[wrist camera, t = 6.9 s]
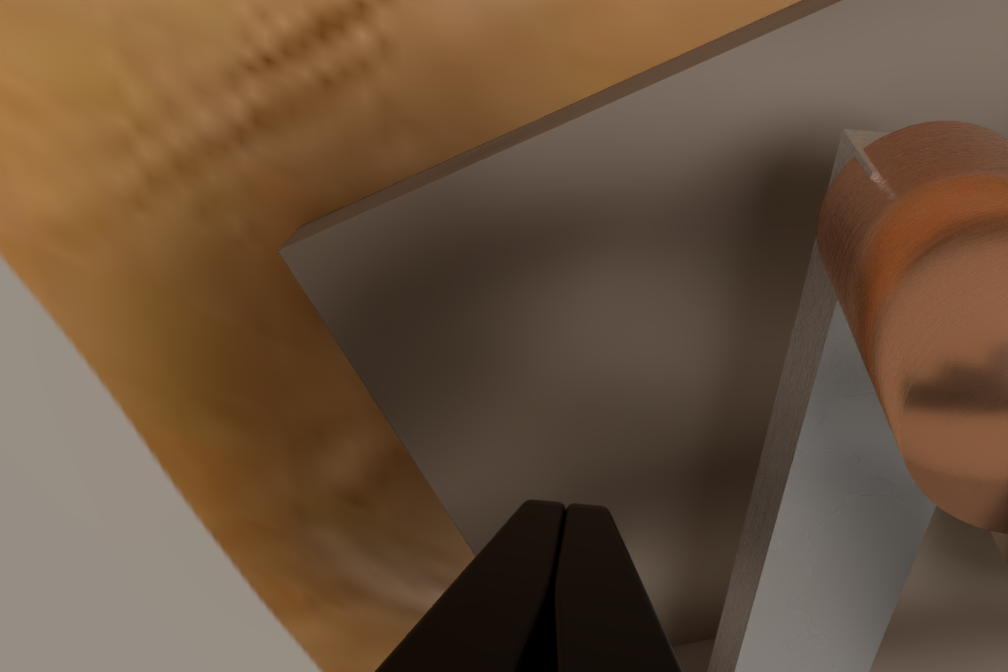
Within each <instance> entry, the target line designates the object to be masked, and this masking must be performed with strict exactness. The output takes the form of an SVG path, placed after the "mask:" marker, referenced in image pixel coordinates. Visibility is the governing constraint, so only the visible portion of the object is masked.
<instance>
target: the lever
mask: <svg viewBox="0 0 1008 672" xmlns="http://www.w3.org/2000/svg"><path fill="white" fill-rule="evenodd" d="M936 505H937V506H938V507H940V508H941V509H942V510H944V511H945V512H947V513H948V514H950V515H952V516H954V517H956V518H957V519H959V520H961V521H964V522H966V523H969V524H971V525H973V526H976V527H979V528H983V529H986V530H990V531H993V532H998V533H1004V534H1008V139H1006V138H1005V137H1003V136H1002V135H1000V134H998V133H997V132H995V131H992V130H990V129H988V128H986V127H983V126H980V125H976V124H972V123H968V122H961V121H932V122H924V123H919V124H915V125H910V126H907V127H904V128H901V129H899V130H896V131H893V132H879V131H866V130H853V129H843V130H842V134H841V138H840V142H839V146H838V150H837V154H836V158H835V162H834V166H833V170H832V174H831V178H830V182H829V186H828V190H827V192H826V194H825V196H824V198H823V200H822V204H821V207H820V210H819V214H818V219H817V230H816V238H815V242H814V246H813V250H812V254H811V258H810V262H809V266H808V270H807V274H806V278H805V282H804V286H803V290H802V294H801V298H800V302H799V306H798V310H797V314H796V318H795V322H794V327H793V331H792V335H791V339H790V343H789V347H788V351H787V355H786V359H785V363H784V367H783V371H782V375H781V379H780V383H779V387H778V391H777V395H776V399H775V403H774V407H773V411H772V415H771V419H770V423H769V427H768V431H767V435H766V439H765V443H764V447H763V451H762V455H761V459H760V463H759V467H758V471H757V475H756V479H755V483H754V487H753V491H752V495H751V499H750V503H749V507H748V511H747V515H746V519H745V523H744V527H743V531H742V535H741V539H740V543H739V547H738V551H737V555H736V559H735V563H734V567H733V571H732V575H731V579H730V583H729V587H728V591H727V595H726V599H725V603H724V607H723V611H722V615H721V619H720V623H719V627H718V631H717V635H716V639H715V643H714V647H713V651H712V655H711V659H710V663H709V667H708V671H707V672H869V671H870V668H871V666H872V664H873V661H874V659H875V656H876V654H877V651H878V649H879V646H880V644H881V641H882V639H883V636H884V634H885V631H886V629H887V626H888V624H889V621H890V619H891V616H892V614H893V612H894V609H895V607H896V604H897V602H898V599H899V597H900V594H901V592H902V589H903V587H904V584H905V582H906V579H907V577H908V574H909V572H910V569H911V567H912V565H913V562H914V560H915V557H916V555H917V552H918V550H919V547H920V545H921V542H922V540H923V537H924V535H925V532H926V530H927V527H928V525H929V522H930V520H931V517H932V515H933V513H934V510H935V508H936Z"/></svg>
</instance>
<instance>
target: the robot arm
mask: <svg viewBox="0 0 1008 672" xmlns="http://www.w3.org/2000/svg"><path fill="white" fill-rule="evenodd" d="M375 672H683V670H682V668H681V666H680V664H679V662H678V659H677V657H676V655H675V653H674V651H673V649H672V646H671V644H670V642H669V640H668V638H667V635H666V633H665V631H664V629H663V627H662V624H661V622H660V620H659V618H658V616H657V613H656V611H655V609H654V607H653V605H652V602H651V600H650V598H649V596H648V594H647V592H646V589H645V587H644V585H643V583H642V581H641V578H640V576H639V574H638V572H637V570H636V567H635V565H634V563H633V561H632V559H631V556H630V554H629V552H628V550H627V548H626V546H625V543H624V541H623V539H622V537H621V535H620V532H619V530H618V528H617V526H616V524H615V521H614V519H613V517H612V515H611V513H610V511H609V510H608V508H606V507H605V506H602V505H591V504H580V503H572V504H570V505H569V506H568V507H567V509H566V507H565V505H564V504H563V503H562V502H558V501H547V500H536V499H529V500H527V501H525V502H524V503H523V504H522V505H521V506H520V507H519V508H518V509H517V510H516V512H515V513H514V514H513V515H512V516H511V517H510V518H509V520H508V521H507V522H506V523H505V524H504V525H503V526H502V528H501V529H500V530H499V531H498V532H497V533H496V534H495V535H494V537H493V538H492V539H491V540H490V541H489V542H488V543H487V545H486V546H485V547H484V548H483V549H482V550H481V551H480V553H479V554H478V555H477V556H476V557H475V558H474V559H473V560H472V562H471V563H470V564H469V565H468V566H467V567H466V568H465V570H464V571H463V572H462V573H461V574H460V575H459V576H458V578H457V579H456V580H455V581H454V582H453V583H452V584H451V585H450V587H449V588H448V589H447V590H446V591H445V592H444V593H443V595H442V596H441V597H440V598H439V599H438V600H437V601H436V603H435V604H434V605H433V606H432V607H431V608H430V609H429V610H428V612H427V613H426V614H425V615H424V616H423V617H422V618H421V620H420V621H419V622H418V623H417V624H416V625H415V626H414V628H413V629H412V630H411V631H410V632H409V633H408V634H407V635H406V637H405V638H404V639H403V640H402V641H401V642H400V643H399V645H398V646H397V647H396V648H395V649H394V650H393V651H392V653H391V654H390V655H389V656H388V657H387V658H386V659H385V660H384V662H383V663H382V664H381V665H380V666H379V667H378V668H377V670H376V671H375Z"/></svg>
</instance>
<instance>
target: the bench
mask: <svg viewBox="0 0 1008 672" xmlns="http://www.w3.org/2000/svg"><path fill="white" fill-rule="evenodd" d="M932 121H961V122H968V123H972V124H976V125H980V126H983V127H986V128H988V129H990V130H992V131H995V132H997V133H998V134H1000V135H1002V136H1003V137H1005V138H1006V139H1008V0H802V1H800V2H798V3H796V4H793V5H791V6H789V7H787V8H785V9H782V10H780V11H778V12H776V13H773V14H771V15H769V16H767V17H765V18H762V19H760V20H758V21H756V22H754V23H751V24H749V25H747V26H745V27H742V28H740V29H738V30H736V31H734V32H731V33H729V34H727V35H725V36H722V37H720V38H718V39H716V40H714V41H711V42H709V43H707V44H705V45H702V46H700V47H698V48H696V49H694V50H691V51H689V52H687V53H685V54H683V55H680V56H678V57H676V58H674V59H671V60H669V61H667V62H665V63H663V64H660V65H658V66H656V67H654V68H651V69H649V70H647V71H645V72H643V73H640V74H638V75H636V76H634V77H631V78H629V79H627V80H625V81H623V82H620V83H618V84H616V85H614V86H611V87H609V88H607V89H605V90H603V91H600V92H598V93H596V94H594V95H592V96H589V97H587V98H585V99H583V100H580V101H578V102H576V103H574V104H572V105H569V106H567V107H565V108H563V109H560V110H558V111H556V112H554V113H552V114H549V115H547V116H545V117H543V118H540V119H538V120H536V121H534V122H532V123H529V124H527V125H525V126H523V127H520V128H518V129H516V130H514V131H512V132H509V133H507V134H505V135H503V136H501V137H498V138H496V139H494V140H492V141H489V142H487V143H485V144H483V145H481V146H478V147H476V148H474V149H472V150H469V151H467V152H465V153H463V154H461V155H458V156H456V157H454V158H452V159H449V160H447V161H445V162H443V163H441V164H438V165H436V166H434V167H432V168H430V169H427V170H425V171H423V172H421V173H418V174H416V175H414V176H412V177H410V178H407V179H405V180H403V181H401V182H398V183H396V184H394V185H392V186H390V187H387V188H385V189H383V190H381V191H378V192H376V193H374V194H372V195H370V196H367V197H365V198H363V199H361V200H358V201H356V202H354V203H352V204H350V205H347V206H345V207H343V208H341V209H339V210H336V211H334V212H332V213H330V214H327V215H325V216H323V217H321V218H319V219H316V220H314V221H312V222H310V223H307V224H305V225H303V226H301V227H299V228H298V229H297V230H296V232H295V233H294V234H293V235H292V236H291V237H290V238H289V239H288V240H287V241H286V242H285V243H284V244H283V245H282V246H281V247H280V249H279V250H278V252H279V254H280V255H281V257H282V258H283V260H284V261H285V263H286V264H287V266H288V267H289V269H290V271H291V272H292V274H293V275H294V277H295V278H296V280H297V281H298V283H299V284H300V286H301V288H302V289H303V291H304V292H305V294H306V295H307V297H308V298H309V300H310V301H311V303H312V305H313V306H314V308H315V309H316V311H317V312H318V314H319V315H320V317H321V318H322V320H323V321H324V323H325V325H326V326H327V328H328V329H329V331H330V332H331V334H332V335H333V337H334V338H335V340H336V342H337V343H338V345H339V346H340V348H341V349H342V351H343V352H344V354H345V355H346V357H347V359H348V360H349V362H350V363H351V365H352V366H353V368H354V369H355V371H356V372H357V374H358V375H359V377H360V379H361V380H362V382H363V383H364V385H365V386H366V388H367V389H368V391H369V392H370V394H371V396H372V397H373V399H374V400H375V402H376V403H377V405H378V406H379V408H380V409H381V411H382V412H383V414H384V416H385V417H386V419H387V420H388V422H389V423H390V425H391V426H392V428H393V429H394V431H395V433H396V434H397V436H398V437H399V439H400V440H401V442H402V443H403V445H404V446H405V448H406V450H407V451H408V453H409V454H410V456H411V457H412V459H413V460H414V462H415V463H416V465H417V466H418V468H419V470H420V471H421V473H422V474H423V476H424V477H425V479H426V480H427V482H428V483H429V485H430V487H431V488H432V490H433V491H434V493H435V494H436V496H437V497H438V499H439V500H440V502H441V503H442V505H443V507H444V508H445V510H446V511H447V513H448V514H449V516H450V517H451V519H452V520H453V522H454V524H455V525H456V527H457V528H458V530H459V531H460V533H461V534H462V536H463V537H464V539H465V541H466V542H467V544H468V545H469V547H470V548H471V550H472V551H473V553H474V554H475V556H477V555H478V554H479V553H480V551H481V550H482V549H483V548H484V547H485V546H486V545H487V543H488V542H489V541H490V540H491V539H492V538H493V537H494V535H495V534H496V533H497V532H498V531H499V530H500V529H501V528H502V526H503V525H504V524H505V523H506V522H507V521H508V520H509V518H510V517H511V516H512V515H513V514H514V513H515V512H516V510H517V509H518V508H519V507H520V506H521V505H522V504H523V503H524V502H525V501H527V500H529V499H536V500H547V501H558V502H562V503H563V504H564V505H565V507H566V509H567V507H568V506H569V505H570V504H572V503H580V504H591V505H602V506H605V507H606V508H608V510H609V511H610V513H611V515H612V517H613V519H614V521H615V524H616V526H617V528H618V530H619V532H620V535H621V537H622V539H623V541H624V543H625V546H626V548H627V550H628V552H629V554H630V556H631V559H632V561H633V563H634V565H635V567H636V570H637V572H638V574H639V576H640V578H641V581H642V583H643V585H644V587H645V589H646V592H647V594H648V596H649V598H650V600H651V602H652V605H653V607H654V609H655V611H656V613H657V616H658V618H659V620H660V622H661V624H662V627H663V629H664V631H665V633H666V635H667V638H668V640H669V642H670V644H671V646H672V649H673V651H674V653H675V655H676V657H677V659H678V662H679V664H680V666H681V668H682V670H683V672H707V671H708V667H709V663H710V659H711V655H712V651H713V647H714V643H715V639H716V635H717V631H718V627H719V623H720V619H721V615H722V611H723V607H724V603H725V599H726V595H727V591H728V587H729V583H730V579H731V575H732V571H733V567H734V563H735V559H736V555H737V551H738V547H739V543H740V539H741V535H742V531H743V527H744V523H745V519H746V515H747V511H748V507H749V503H750V499H751V495H752V491H753V487H754V483H755V479H756V475H757V471H758V467H759V463H760V459H761V455H762V451H763V447H764V443H765V439H766V435H767V431H768V427H769V423H770V419H771V415H772V411H773V407H774V403H775V399H776V395H777V391H778V387H779V383H780V379H781V375H782V371H783V367H784V363H785V359H786V355H787V351H788V347H789V343H790V339H791V335H792V331H793V327H794V322H795V318H796V314H797V310H798V306H799V302H800V298H801V294H802V290H803V286H804V282H805V278H806V274H807V270H808V266H809V262H810V258H811V254H812V250H813V246H814V242H815V238H816V230H817V219H818V214H819V210H820V207H821V204H822V200H823V198H824V196H825V194H826V192H827V190H828V186H829V182H830V178H831V174H832V170H833V166H834V162H835V158H836V154H837V150H838V146H839V142H840V138H841V134H842V130H843V129H853V130H866V131H879V132H893V131H896V130H899V129H901V128H904V127H907V126H910V125H915V124H919V123H924V122H932ZM869 672H1008V566H1007V564H1006V562H1005V560H1004V558H1003V556H1002V554H1001V552H1000V550H999V548H998V546H997V544H996V542H995V540H994V538H993V536H992V534H991V532H990V530H986V529H983V528H979V527H976V526H973V525H971V524H969V523H966V522H964V521H961V520H959V519H957V518H956V517H954V516H952V515H950V514H948V513H947V512H945V511H944V510H942V509H941V508H940V507H938V506H937V505H936V508H935V510H934V513H933V515H932V517H931V520H930V522H929V525H928V527H927V530H926V532H925V535H924V537H923V540H922V542H921V545H920V547H919V550H918V552H917V555H916V557H915V560H914V562H913V565H912V567H911V569H910V572H909V574H908V577H907V579H906V582H905V584H904V587H903V589H902V592H901V594H900V597H899V599H898V602H897V604H896V607H895V609H894V612H893V614H892V616H891V619H890V621H889V624H888V626H887V629H886V631H885V634H884V636H883V639H882V641H881V644H880V646H879V649H878V651H877V654H876V656H875V659H874V661H873V664H872V666H871V668H870V671H869Z"/></svg>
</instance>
